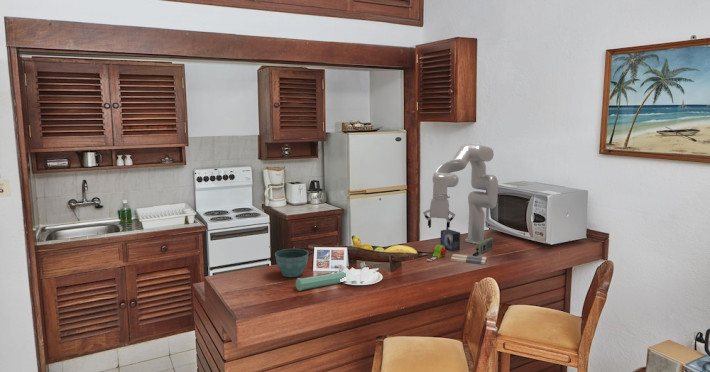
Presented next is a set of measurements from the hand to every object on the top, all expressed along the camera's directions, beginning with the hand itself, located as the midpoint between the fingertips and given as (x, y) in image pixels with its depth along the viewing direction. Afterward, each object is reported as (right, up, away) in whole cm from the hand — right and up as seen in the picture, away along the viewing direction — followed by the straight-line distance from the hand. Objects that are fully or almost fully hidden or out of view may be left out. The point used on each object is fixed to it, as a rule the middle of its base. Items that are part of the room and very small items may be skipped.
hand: (438, 228), depth 273 cm
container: (-60, -23, -45) cm, 78 cm away
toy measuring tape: (-1, -17, +2) cm, 17 cm away
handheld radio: (+28, -16, +14) cm, 35 cm away
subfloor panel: (+16, -17, -3) cm, 24 cm away
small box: (+10, -14, +21) cm, 27 cm away
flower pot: (-77, -20, -30) cm, 85 cm away
